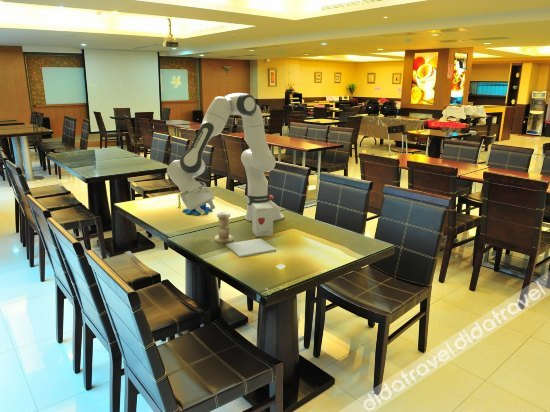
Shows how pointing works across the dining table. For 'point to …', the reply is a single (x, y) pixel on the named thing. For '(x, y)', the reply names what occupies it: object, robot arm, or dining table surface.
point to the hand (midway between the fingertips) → (209, 211)
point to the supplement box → (262, 220)
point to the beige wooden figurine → (223, 228)
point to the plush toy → (197, 211)
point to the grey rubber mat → (250, 247)
